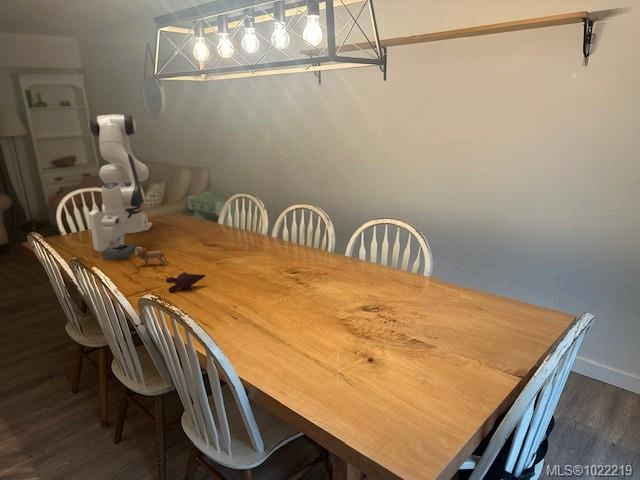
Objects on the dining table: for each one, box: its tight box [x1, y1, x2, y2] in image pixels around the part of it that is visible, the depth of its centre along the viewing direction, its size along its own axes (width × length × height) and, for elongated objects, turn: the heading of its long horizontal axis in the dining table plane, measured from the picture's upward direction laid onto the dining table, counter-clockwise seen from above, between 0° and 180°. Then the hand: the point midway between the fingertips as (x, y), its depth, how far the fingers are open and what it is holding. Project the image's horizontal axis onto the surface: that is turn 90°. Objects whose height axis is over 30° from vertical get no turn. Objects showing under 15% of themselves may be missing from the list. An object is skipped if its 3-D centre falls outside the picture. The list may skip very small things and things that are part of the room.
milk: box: [87, 206, 111, 253], centre depth 228 cm, size 6×6×22 cm
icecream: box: [165, 271, 206, 293], centre depth 178 cm, size 7×7×15 cm
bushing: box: [116, 235, 125, 249], centre depth 220 cm, size 4×4×8 cm
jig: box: [101, 243, 139, 260], centre depth 221 cm, size 12×13×4 cm
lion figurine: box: [135, 246, 171, 267], centre depth 206 cm, size 15×5×9 cm, turn 98°
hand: (119, 245), depth 220 cm, fingers open, 4 cm apart
